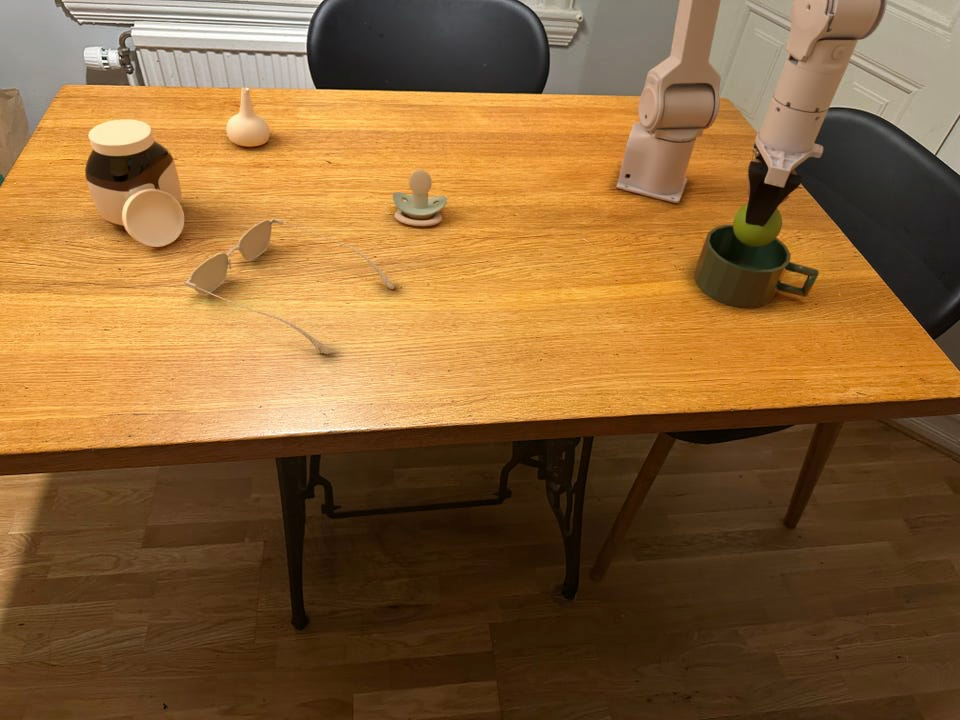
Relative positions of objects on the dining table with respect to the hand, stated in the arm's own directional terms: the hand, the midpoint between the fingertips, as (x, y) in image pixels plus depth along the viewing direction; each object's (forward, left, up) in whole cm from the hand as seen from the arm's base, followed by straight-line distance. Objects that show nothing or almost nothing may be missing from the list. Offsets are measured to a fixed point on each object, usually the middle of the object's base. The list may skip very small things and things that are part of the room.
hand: (756, 213), depth 82 cm
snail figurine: (0, -1, -4) cm, 4 cm away
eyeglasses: (-47, -27, -10) cm, 55 cm away
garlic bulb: (-74, +2, -10) cm, 74 cm away
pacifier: (-42, -5, -10) cm, 43 cm away
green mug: (+2, 0, -10) cm, 10 cm away
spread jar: (-71, -23, -10) cm, 75 cm away
